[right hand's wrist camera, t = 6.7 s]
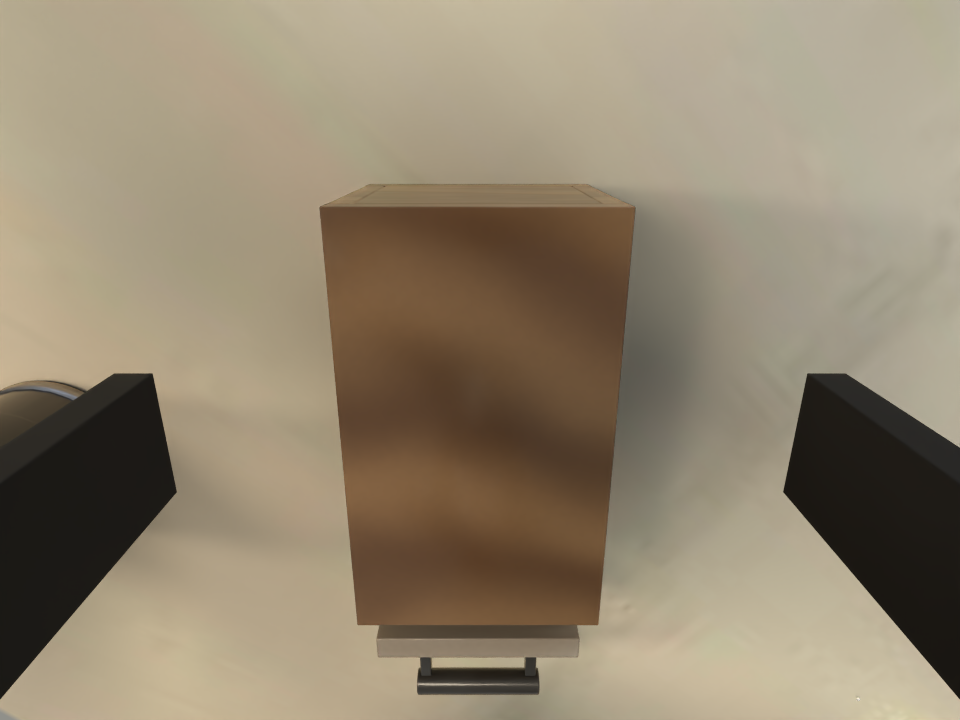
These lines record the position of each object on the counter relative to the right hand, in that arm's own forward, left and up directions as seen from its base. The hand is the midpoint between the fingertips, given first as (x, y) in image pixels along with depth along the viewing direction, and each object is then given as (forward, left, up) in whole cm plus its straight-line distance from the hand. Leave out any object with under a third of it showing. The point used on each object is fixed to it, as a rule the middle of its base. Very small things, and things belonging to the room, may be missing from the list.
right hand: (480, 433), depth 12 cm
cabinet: (0, -6, -21) cm, 21 cm away
